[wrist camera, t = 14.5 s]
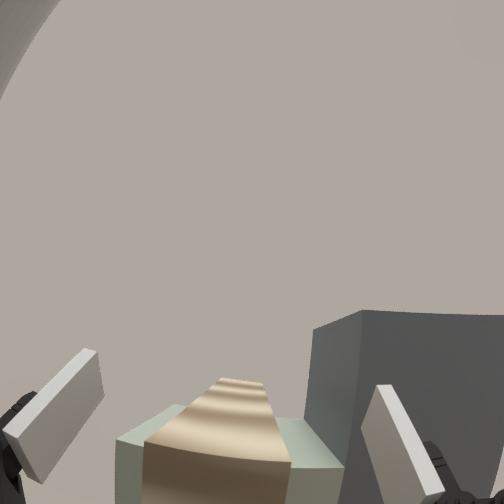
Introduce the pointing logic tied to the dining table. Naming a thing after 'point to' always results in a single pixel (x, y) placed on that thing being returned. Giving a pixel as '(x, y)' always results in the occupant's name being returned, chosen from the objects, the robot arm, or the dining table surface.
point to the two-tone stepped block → (359, 397)
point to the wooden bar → (218, 451)
